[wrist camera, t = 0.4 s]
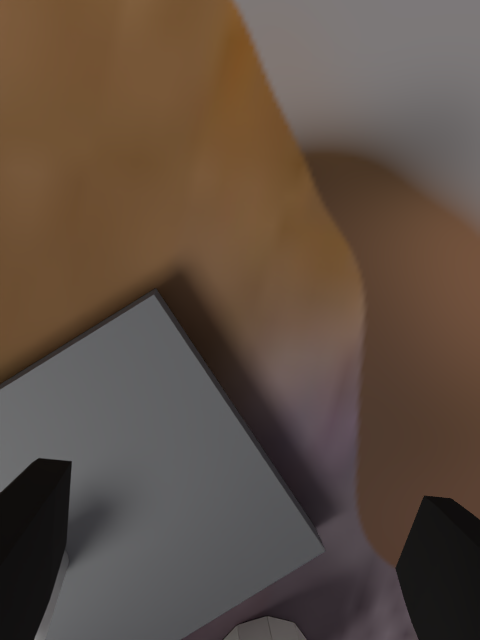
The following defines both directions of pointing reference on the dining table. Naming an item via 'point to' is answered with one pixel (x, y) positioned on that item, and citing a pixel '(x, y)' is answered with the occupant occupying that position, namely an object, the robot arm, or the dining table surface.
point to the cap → (266, 630)
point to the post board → (150, 482)
